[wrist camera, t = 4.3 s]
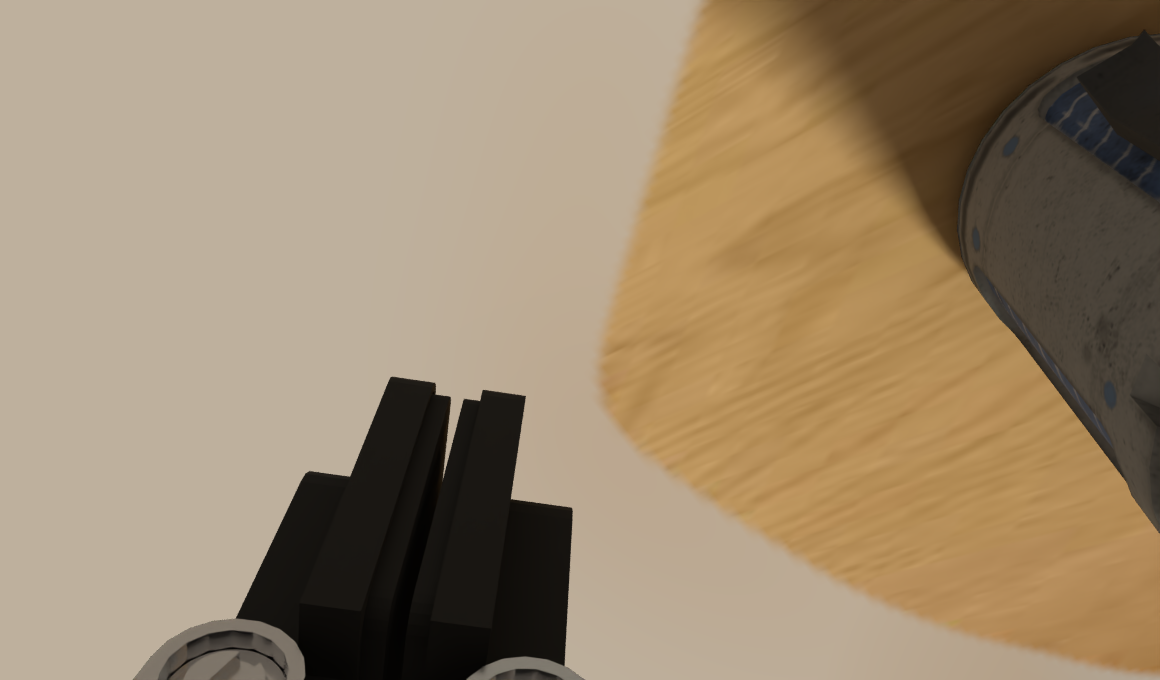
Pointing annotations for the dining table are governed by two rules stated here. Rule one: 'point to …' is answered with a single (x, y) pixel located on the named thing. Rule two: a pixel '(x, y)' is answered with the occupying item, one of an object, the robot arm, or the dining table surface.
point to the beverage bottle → (1081, 243)
